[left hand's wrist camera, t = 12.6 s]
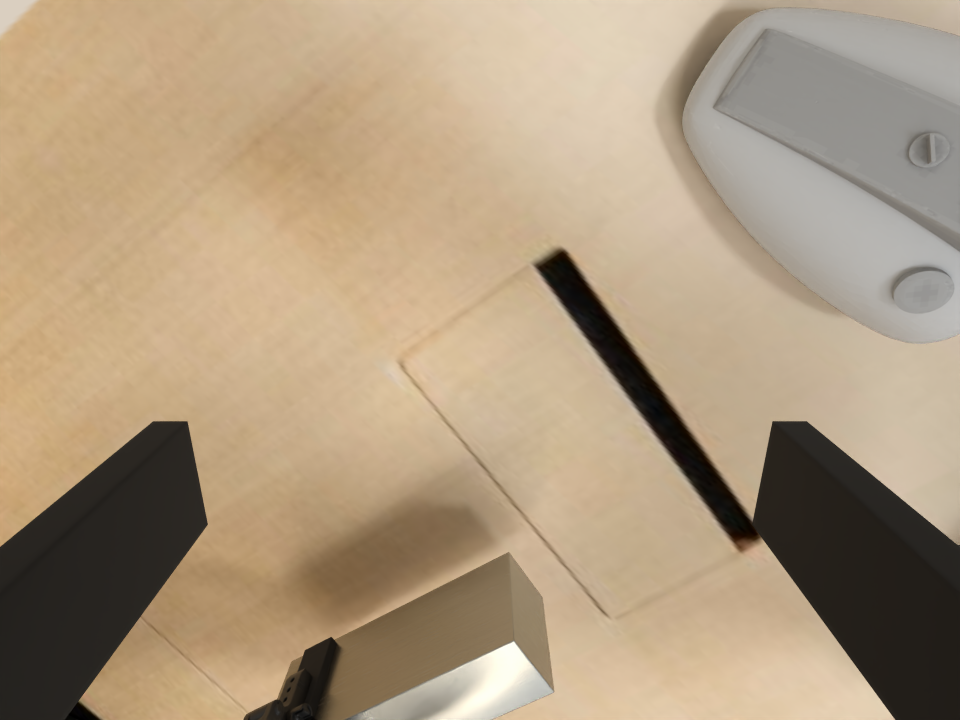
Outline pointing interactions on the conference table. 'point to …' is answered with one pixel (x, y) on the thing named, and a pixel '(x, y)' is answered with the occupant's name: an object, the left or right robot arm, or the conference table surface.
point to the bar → (445, 654)
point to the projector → (842, 159)
